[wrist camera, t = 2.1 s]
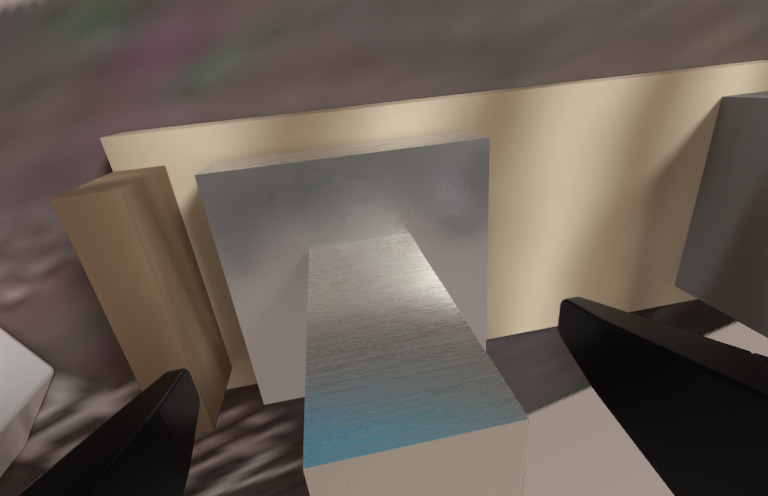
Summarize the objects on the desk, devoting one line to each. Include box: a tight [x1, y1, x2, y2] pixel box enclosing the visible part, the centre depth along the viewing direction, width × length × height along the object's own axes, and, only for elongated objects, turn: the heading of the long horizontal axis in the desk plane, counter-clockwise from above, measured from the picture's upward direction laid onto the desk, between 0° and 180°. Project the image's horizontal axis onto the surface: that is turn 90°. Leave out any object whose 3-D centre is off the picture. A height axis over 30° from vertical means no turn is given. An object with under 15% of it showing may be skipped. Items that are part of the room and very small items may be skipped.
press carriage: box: [194, 130, 529, 496], centre depth 10 cm, size 8×8×9 cm
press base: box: [51, 60, 768, 435], centre depth 13 cm, size 24×10×6 cm, turn 96°
